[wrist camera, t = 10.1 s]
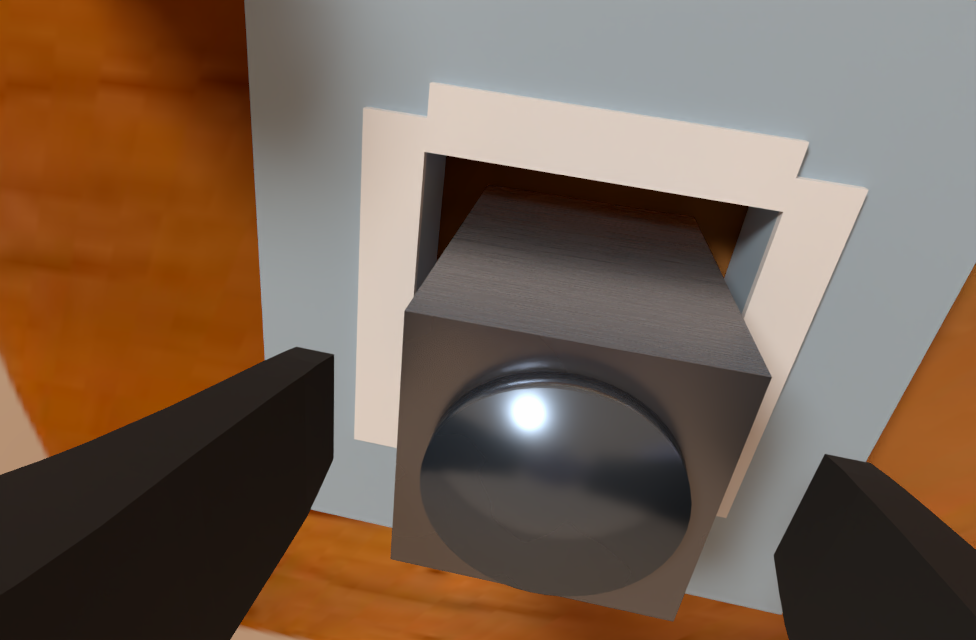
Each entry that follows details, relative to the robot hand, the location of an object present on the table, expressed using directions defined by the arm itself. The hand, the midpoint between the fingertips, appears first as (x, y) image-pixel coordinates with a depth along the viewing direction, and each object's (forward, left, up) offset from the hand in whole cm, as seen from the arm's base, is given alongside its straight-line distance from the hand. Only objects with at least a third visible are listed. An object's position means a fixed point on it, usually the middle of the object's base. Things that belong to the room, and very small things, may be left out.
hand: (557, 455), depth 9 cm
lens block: (0, 0, -6) cm, 6 cm away
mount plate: (0, 0, -6) cm, 6 cm away
